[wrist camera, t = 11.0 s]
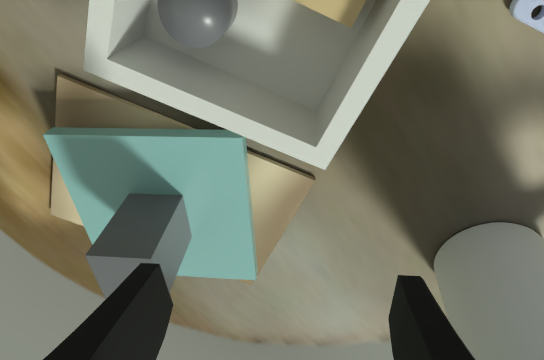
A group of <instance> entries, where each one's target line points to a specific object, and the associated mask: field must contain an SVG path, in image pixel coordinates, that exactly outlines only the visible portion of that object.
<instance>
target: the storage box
mask: <svg viewBox="0 0 544 360" xmlns="http://www.w3.org/2000/svg"><path fill="white" fill-rule="evenodd" d="M429 1H430V0H90V1H89V12H88V23H87V34H86V44H85V55H84V66H83V70H84V71H87V72H89V73H92V74H94V75H96V76H99V77H101V78H104V79H106V80H108V81H111V82H113V83H116V84H118V85H121V86H123V87H125V88H128V89H130V90H133V91H135V92H137V93H140V94H142V95H145V96H147V97H150V98H152V99H154V100H157V101H159V102H162V103H164V104H167V105H169V106H171V107H174V108H176V109H179V110H181V111H183V112H186V113H188V114H191V115H193V116H196V117H198V118H200V119H203V120H205V121H208V122H210V123H212V124H215V125H217V126H220V127H222V128H225V129H227V130H229V131H232V132H234V133H237V134H239V135H242V136H244V137H246V138H249V139H251V140H254V141H256V142H258V143H261V144H263V145H266V146H268V147H271V148H273V149H275V150H278V151H280V152H283V153H285V154H287V155H290V156H292V157H295V158H297V159H300V160H302V161H304V162H307V163H309V164H312V165H314V166H317V167H319V168H321V169H324V170H325V169H326V168H327V166H328V165H329V163H330V161H331V160H332V158H333V156H334V155H335V153H336V152H337V150H338V148H339V147H340V145H341V144H342V142H343V140H344V139H345V137H346V135H347V134H348V132H349V131H350V129H351V127H352V126H353V124H354V122H355V121H356V119H357V118H358V116H359V114H360V113H361V111H362V109H363V108H364V106H365V105H366V103H367V101H368V100H369V98H370V97H371V95H372V93H373V92H374V90H375V88H376V87H377V85H378V84H379V82H380V80H381V79H382V77H383V75H384V74H385V72H386V71H387V69H388V67H389V66H390V64H391V63H392V61H393V59H394V58H395V56H396V54H397V53H398V51H399V50H400V48H401V46H402V45H403V43H404V41H405V40H406V38H407V37H408V35H409V33H410V32H411V30H412V29H413V27H414V25H415V24H416V22H417V20H418V19H419V17H420V16H421V14H422V12H423V11H424V9H425V7H426V6H427V4H428V3H429Z"/></svg>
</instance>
